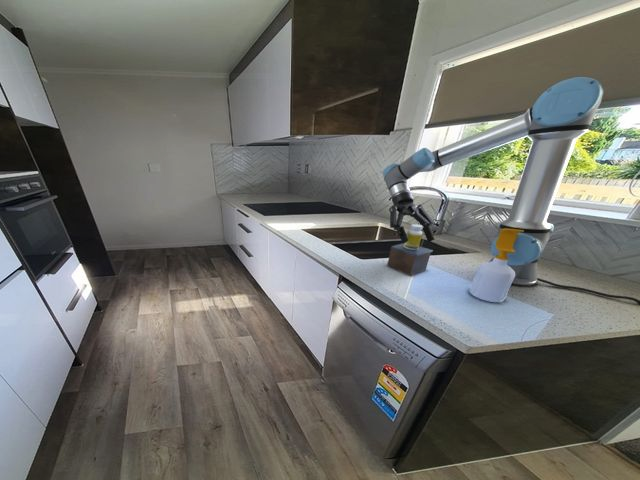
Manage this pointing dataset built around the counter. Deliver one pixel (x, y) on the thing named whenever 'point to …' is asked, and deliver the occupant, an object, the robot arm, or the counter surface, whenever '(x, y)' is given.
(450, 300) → the counter surface
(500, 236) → the soap bottle
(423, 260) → the box
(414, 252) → the box lid
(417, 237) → the supplement bottle
